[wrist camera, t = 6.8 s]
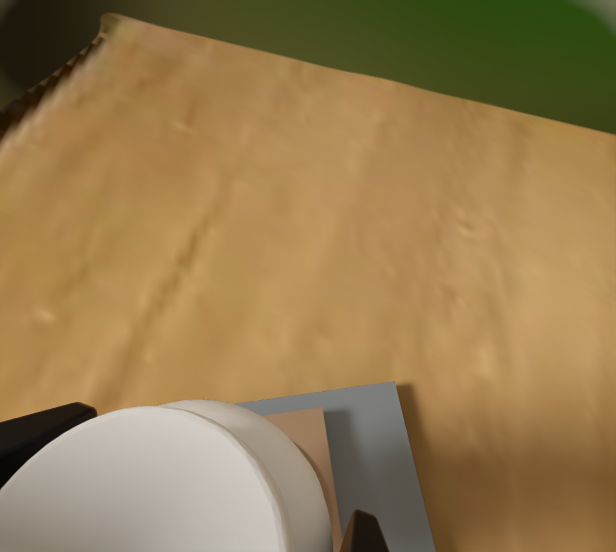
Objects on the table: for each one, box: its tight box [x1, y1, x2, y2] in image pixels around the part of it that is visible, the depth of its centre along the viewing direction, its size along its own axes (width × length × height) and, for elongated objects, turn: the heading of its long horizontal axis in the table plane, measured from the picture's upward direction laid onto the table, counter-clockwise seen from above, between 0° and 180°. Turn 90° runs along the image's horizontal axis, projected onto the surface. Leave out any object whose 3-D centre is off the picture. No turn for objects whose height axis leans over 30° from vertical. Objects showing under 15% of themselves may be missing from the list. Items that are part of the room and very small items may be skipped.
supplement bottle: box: [0, 400, 334, 552], centre depth 9 cm, size 5×5×10 cm
